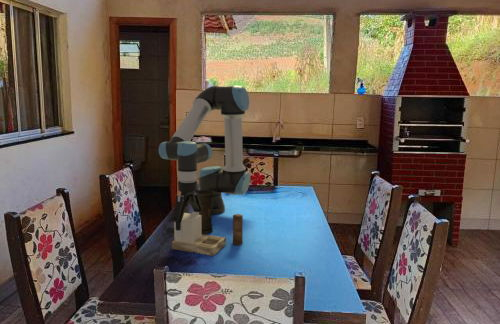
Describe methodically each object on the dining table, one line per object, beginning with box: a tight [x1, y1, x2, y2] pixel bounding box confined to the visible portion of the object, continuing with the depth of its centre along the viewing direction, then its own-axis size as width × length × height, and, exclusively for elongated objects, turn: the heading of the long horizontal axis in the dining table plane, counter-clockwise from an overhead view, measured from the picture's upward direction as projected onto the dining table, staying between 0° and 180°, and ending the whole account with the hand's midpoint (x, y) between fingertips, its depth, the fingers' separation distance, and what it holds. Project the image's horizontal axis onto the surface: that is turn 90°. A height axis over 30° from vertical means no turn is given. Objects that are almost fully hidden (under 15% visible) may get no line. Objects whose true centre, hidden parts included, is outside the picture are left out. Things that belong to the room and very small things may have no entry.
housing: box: [173, 212, 202, 243], centre depth 158 cm, size 8×8×9 cm
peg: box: [232, 213, 244, 246], centre depth 161 cm, size 4×4×12 cm
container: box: [193, 189, 214, 235], centre depth 174 cm, size 9×9×18 cm
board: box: [171, 234, 227, 256], centre depth 157 cm, size 12×18×8 cm, turn 70°
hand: (187, 232), depth 158 cm, fingers open, 13 cm apart
